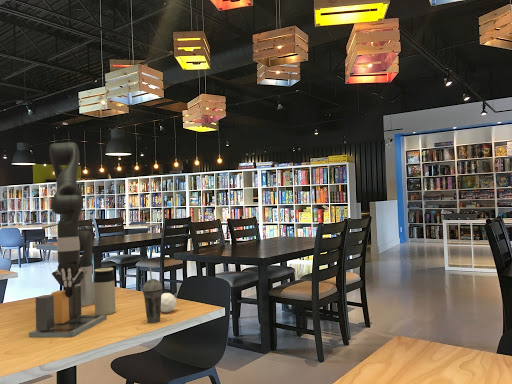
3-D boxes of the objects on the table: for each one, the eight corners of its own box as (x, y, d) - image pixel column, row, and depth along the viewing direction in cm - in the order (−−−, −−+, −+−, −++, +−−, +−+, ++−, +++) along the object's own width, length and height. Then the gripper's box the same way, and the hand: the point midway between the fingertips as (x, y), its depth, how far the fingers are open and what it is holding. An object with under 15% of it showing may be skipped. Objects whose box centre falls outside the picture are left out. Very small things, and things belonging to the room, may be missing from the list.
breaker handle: (59, 320, 156) (58, 290, 157) (69, 320, 156) (68, 290, 156) (52, 323, 152) (51, 292, 153) (62, 323, 152) (61, 292, 152)
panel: (68, 319, 166) (67, 285, 166) (106, 318, 163) (105, 285, 164) (29, 337, 143) (28, 298, 143) (72, 337, 141) (71, 298, 141)
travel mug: (108, 315, 168) (107, 270, 169) (90, 315, 170) (89, 270, 171) (119, 310, 176) (117, 267, 177) (101, 310, 178) (100, 267, 178)
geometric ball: (167, 317, 172) (172, 299, 177) (177, 313, 167) (181, 294, 172) (150, 311, 169) (156, 292, 174) (160, 306, 164) (166, 287, 169)
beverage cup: (167, 319, 159) (165, 265, 160) (156, 324, 152) (155, 268, 153) (150, 318, 161) (149, 265, 162) (139, 323, 154) (137, 268, 155)
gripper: (90, 247, 157) (92, 294, 156) (58, 248, 159) (59, 295, 158) (79, 249, 150) (81, 299, 149) (45, 251, 152) (46, 299, 151)
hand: (70, 296), depth 154 cm, fingers closed
